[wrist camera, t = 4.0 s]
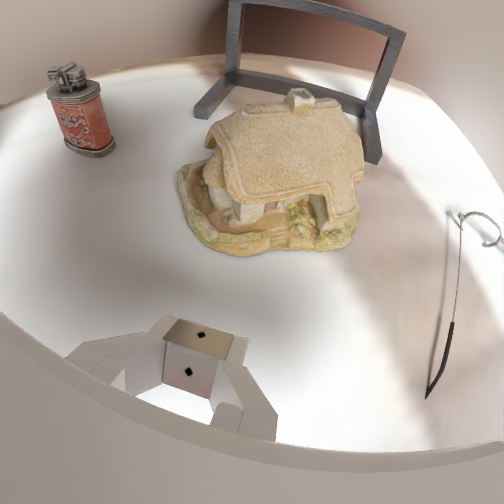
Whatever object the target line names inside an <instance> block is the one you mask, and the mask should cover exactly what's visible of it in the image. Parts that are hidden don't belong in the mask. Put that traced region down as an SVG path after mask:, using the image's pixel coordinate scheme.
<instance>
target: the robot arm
mask: <svg viewBox="0 0 504 504" xmlns="http://www.w3.org/2000/svg"><path fill="white" fill-rule="evenodd" d="M248 343H249V339H248V338H244V337H240V336H236V335H235V336H234V335H232V334H229V333H225V332H222V331H218V330H215V329H211V328H208V327H206V326H203V325H200V324H198V323H195V322H192V321H189V320H186V319H184V318H180V317H179V316H176V315H173V314H170V313H166V314H164V315H163V317H162V318H161V319H160V320H159V321H158V322H157V323H156V324H155V325H154V326H153V327H152V328H151V329H150V330H149V331H148V332H147V333H145V332H139V333H134V334H129V335H124V336H118V337H113V338H107V339H102V340H96V341H90V342H84V343H83V344H81V345H80V346H79V347H78V348H76V349H75V350H74V351H73V352H72V353H70V354H69V355H68V356H67V357H66V358H63V357H61V356H59V355H58V354H56V353H55V352H53V351H52V350H50V349H49V348H47V347H46V346H45V345H43V344H42V343H40V342H39V341H38V340H36V339H35V338H33V337H32V336H31V335H29V334H28V333H27V332H25V331H24V330H23V329H22V328H20V327H19V326H18V325H17V324H15V323H14V322H13V321H12V320H10V319H9V318H8V317H7V316H6V315H4V314H3V313H2V312H1V311H0V504H504V441H502V440H499V439H497V440H491V441H486V442H482V443H477V444H472V445H467V446H461V447H454V448H447V449H439V450H429V451H416V452H390V453H376V452H350V451H336V450H326V449H316V448H308V447H301V446H295V445H289V444H283V443H278V442H275V439H276V429H277V419H278V415H277V413H276V412H275V410H274V409H273V407H272V406H271V404H270V403H269V401H268V400H267V398H266V397H265V395H264V394H263V392H262V391H261V389H260V388H259V386H258V385H257V383H256V382H255V380H254V379H253V377H252V376H251V374H250V372H249V371H248V369H247V368H246V367H244V366H242V364H243V361H244V357H245V353H246V350H247V346H248ZM162 383H164V384H167V385H170V386H173V387H176V388H178V389H181V390H184V391H187V392H190V393H192V394H195V395H198V396H200V397H203V398H206V399H209V401H210V404H211V407H212V410H213V413H214V415H213V418H212V421H211V423H210V425H207V424H203V423H200V422H197V421H194V420H191V419H189V418H186V417H183V416H180V415H177V414H175V413H172V412H170V411H167V410H164V409H162V408H159V407H157V406H155V405H152V404H150V403H147V402H145V401H143V400H141V399H138V398H136V397H134V396H136V395H139V394H141V393H143V392H145V391H147V390H149V389H152V388H154V387H156V386H158V385H160V384H162Z"/></svg>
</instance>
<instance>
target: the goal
mask: <svg viewBox="0 0 504 504" xmlns="http://www.w3.org/2000/svg"><path fill="white" fill-rule="evenodd" d="M245 3H254V4H262V5H270V6H277V7H284V8H290V9H295V10H300V11H305V12H310V13H314V14H318V15H323V16H326V17H330V18H334V19H337V20H341V21H344V22H347V23H351V24H354V25H357V26H360V27H363V28H366V29H368V30H371V31H374V32H377V33H379V34H382V35H384V36H387V37H388V39H387V42H386V45H385V48H384V51H383V54H382V57H381V60H380V63H379V66H378V69H377V71H376V74H375V76H374V79H373V82H372V85H371V87H370V90H369V93H368V95H367V98H366V101H364V100H361V99H359V98H356V97H353V96H350V95H347V94H344V93H341V92H338V91H335V90H331V89H328V88H325V87H321V86H318V85H314V84H310V83H306V82H303V81H299V80H294V79H290V78H286V77H281V76H276V75H271V74H266V73H261V72H255V71H249V70H243V69H240V56H241V44H242V32H243V21H244V11H245V10H244V9H245ZM405 36H406V32H404V31H403V30H400V29H398V28H396V27H393V26H391V25H388V24H386V23H383V22H381V21H378V20H376V19H373V18H370V17H367V16H365V15H362V14H359V13H355V12H352V11H349V10H346V9H343V8H339V7H335V6H332V5H328V4H324V3H320V2H315V1H311V0H229V9H228V24H227V40H226V41H227V42H226V59H225V75H224V76H223V77H222V78H221V79H220V80H219V81H218V82H217V83H216V84H215V85H214V86H213V87H212V88H211V89H210V90H209V91H208V92H207V93H206V94H205V95H204V96H203V97H202V98H201V100H200V101H199V102H198V103H197V104H196V105H195V106H194V111H195V118H200V119H207V120H208V118H209V117H210V116H211V115H212V113H213V112H214V111H215V109H216V108H217V107H218V106H219V104H220V103H221V102H222V101H223V99H224V98H225V97H226V96H227V94H228V93H229V92H230V91H231V90H232V88H233V87H234V86H235V85H236V86H242V87H248V88H254V89H259V90H264V91H269V92H274V93H278V94H283V95H287V94H288V92H289V91H290V90H291V89H296V88H305V89H306V90H307V91H309V92H310V93H311V94H312V95H313V97H314V98H315V99H321V98H326V97H328V98H332V99H335V100H336V101H337V102H338V103H339V104H340V105H341V109H342V111H343V112H346V113H349V114H352V115H355V116H358V117H361V120H362V132H363V147H364V160H365V161H367V162H370V163H373V164H375V165H377V164H378V162H379V160H380V158H381V157H382V149H381V142H380V135H379V129H378V123H377V118H376V111H377V108H378V106H379V103H380V101H381V99H382V96H383V94H384V91H385V89H386V86H387V84H388V81H389V79H390V76H391V73H392V71H393V68H394V66H395V63H396V61H397V58H398V55H399V53H400V49H401V47H402V44H403V41H404V39H405Z"/></svg>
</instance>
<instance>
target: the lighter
mask: <svg viewBox="0 0 504 504" xmlns="http://www.w3.org/2000/svg"><path fill="white" fill-rule="evenodd" d="M47 76H48V79H49V81H57V82H56V84H55V85H54V86H52V87H51V88H49V89H48V90H47V92H46V94H47V97H48V99H49V100H51V103H52V106H53V109H54V111H55V114H56V117H57V119H58V122H59V125H60V127H61V130H62V132H63V135H64V141H65V144H66V146H67V147H68V148H69V149H70V150H72V151H74V152H76V153H77V154H80V155H84V156H87V157H94V158H102V157H105V156H107V155H108V154H110V153H111V152H112V151H113V150H114V149H115V147H116V144H115V141H114V138H113V136H111V134H110V131H109V127H108V124H107V120H106V117H105V113H104V109H103V106H102V102H101V98H100V94H99V93H100V91H101V89H100V85H99V83H98V82H96V81H93V80H87V79H86V78H85V76H86V74H85V70H84V67H83V66H77V65H76V63H74V62H71V63H69V64H68V65H66V66H64V67H63V66H54V67H52V68H50V69H49V70H48V72H47Z"/></svg>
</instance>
